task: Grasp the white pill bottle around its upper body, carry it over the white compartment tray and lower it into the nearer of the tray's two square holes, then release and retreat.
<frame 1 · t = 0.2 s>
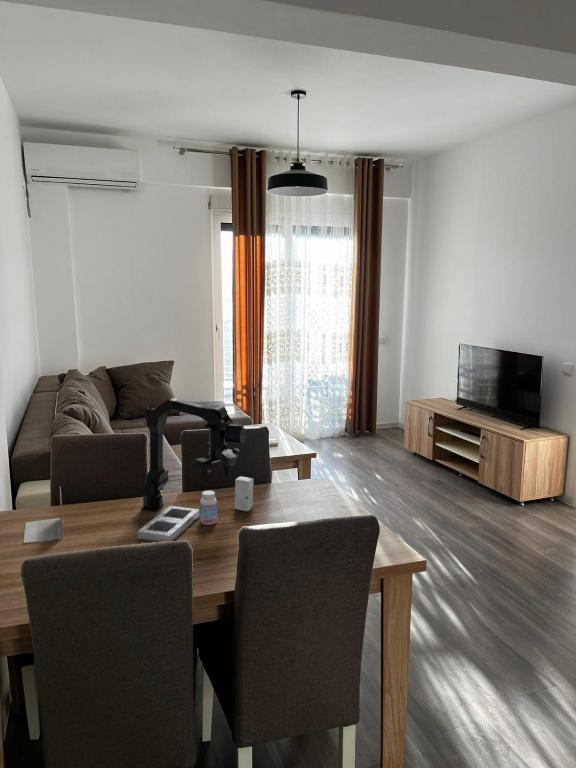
hand: (217, 481, 215), 14 cm above the table, fingers open, 9 cm apart
skincare box: (244, 508, 226), on the table
white compartment tray: (170, 527, 208), on the table
pill bottle: (208, 522, 213), on the table
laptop: (44, 532, 204), on the table
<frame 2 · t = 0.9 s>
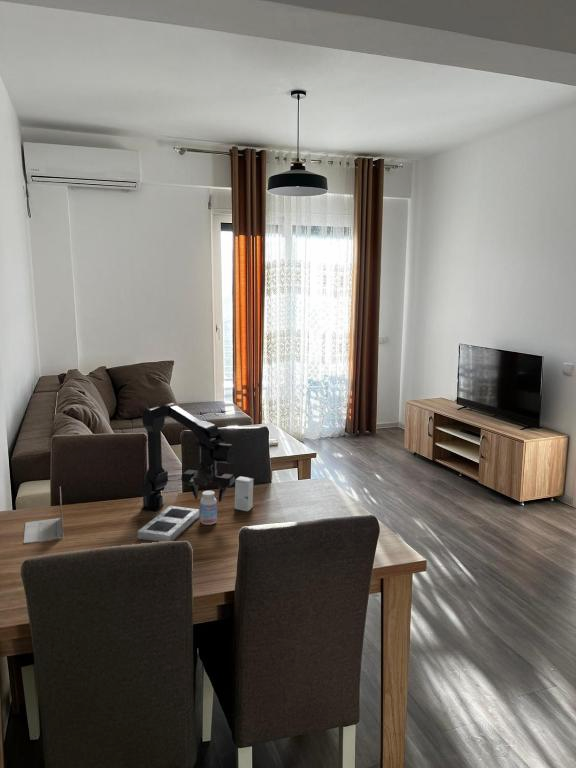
hand: (208, 500, 212), 8 cm above the table, fingers open, 9 cm apart
nothing on the table moved.
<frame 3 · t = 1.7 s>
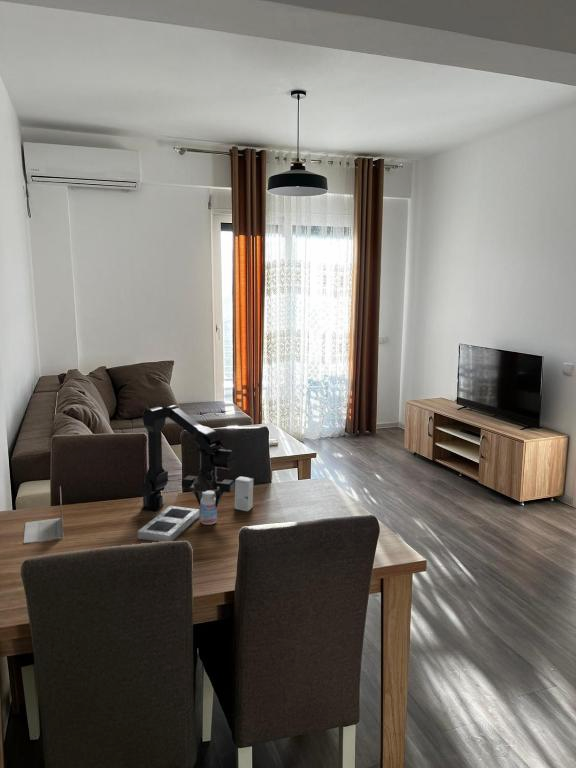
hand: (208, 506, 212), 6 cm above the table, fingers closed on pill bottle, 6 cm apart
pill bottle: (208, 522, 213), on the table, touching gripper
everything else where it was.
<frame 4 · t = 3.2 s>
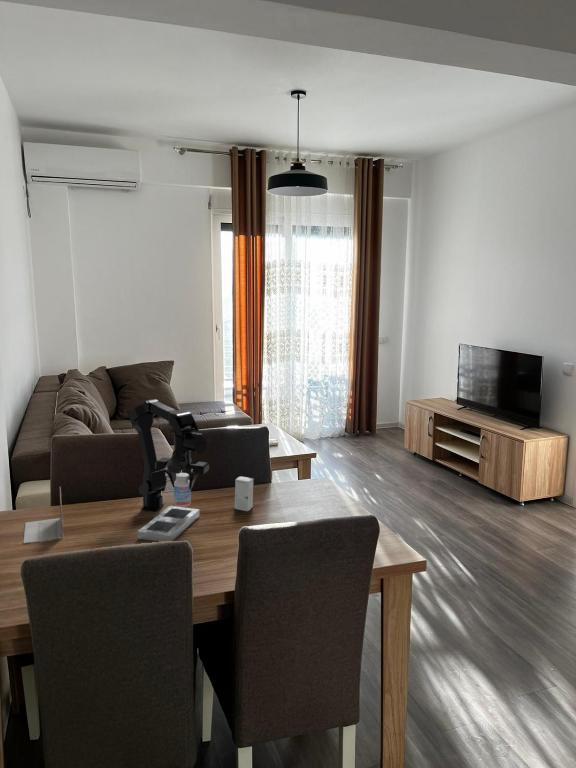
hand: (182, 488, 211), 13 cm above the table, fingers closed on pill bottle, 6 cm apart
pill bottle: (182, 504, 212), point 6 cm above the table, touching gripper
everything else where it was.
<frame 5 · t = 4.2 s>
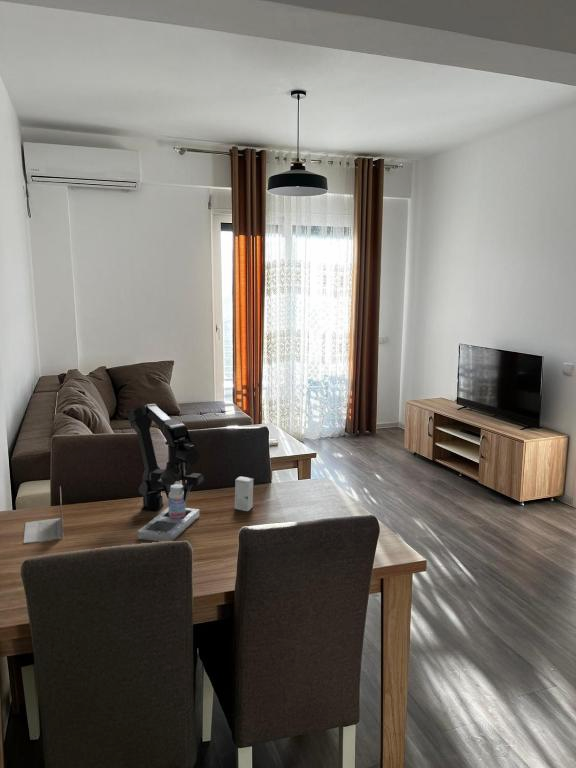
hand: (177, 499, 212), 8 cm above the table, fingers closed on pill bottle, 6 cm apart
pill bottle: (177, 516, 213), point 2 cm above the table, touching gripper
everything else where it was.
when the fingers open (7 cm above the table, at t = 4.8 s): pill bottle stays where it is, resting on white compartment tray.
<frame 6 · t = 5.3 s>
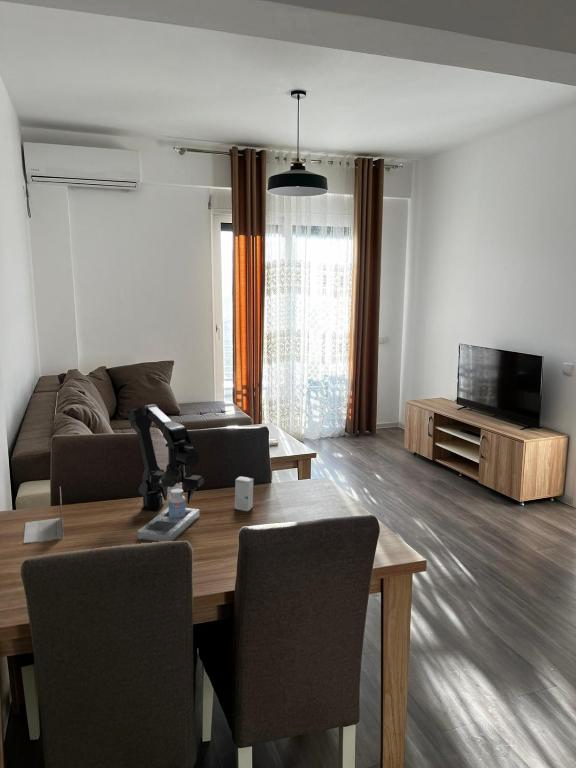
hand: (177, 501, 212), 7 cm above the table, fingers open, 9 cm apart
pill bottle: (177, 520, 213), resting on white compartment tray
everything else where it was.
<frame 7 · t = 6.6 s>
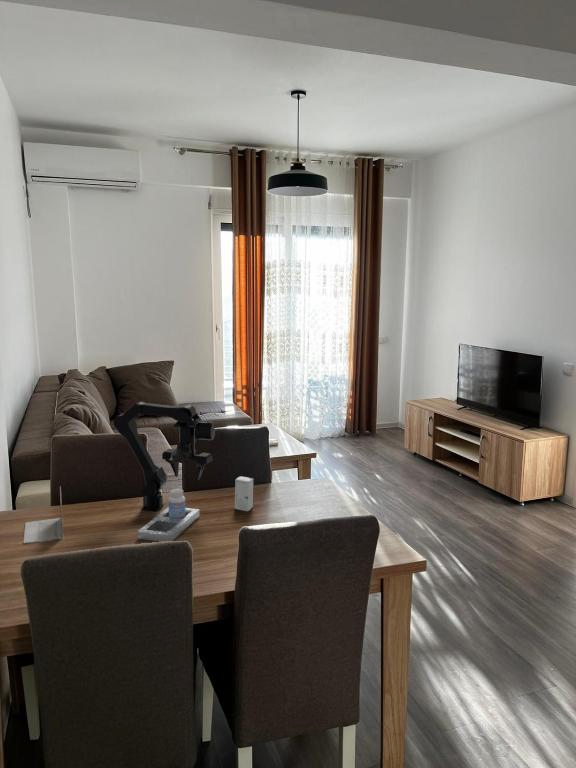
hand: (187, 478, 221), 13 cm above the table, fingers open, 9 cm apart
nothing on the table moved.
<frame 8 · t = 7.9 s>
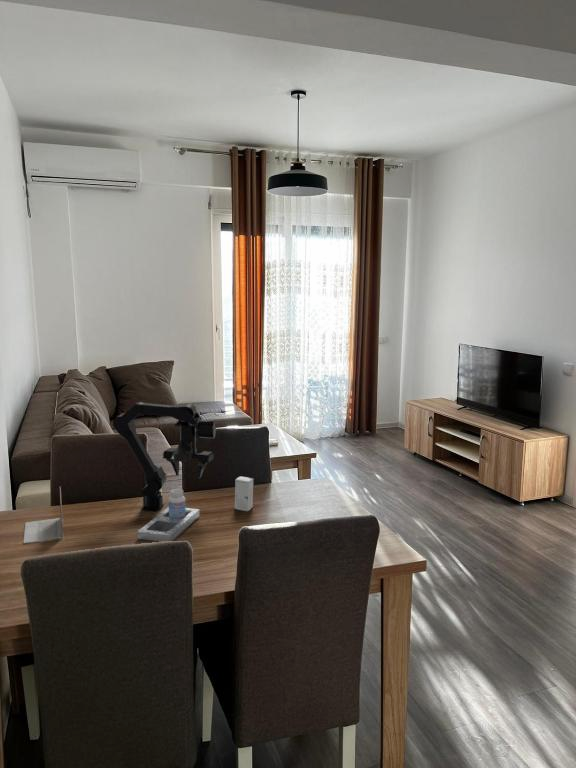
hand: (188, 476, 223), 13 cm above the table, fingers open, 9 cm apart
nothing on the table moved.
at the end: pill bottle 0.1 cm from the target spot, resting on white compartment tray; pill bottle tilted 0°; the gripper is holding nothing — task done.
